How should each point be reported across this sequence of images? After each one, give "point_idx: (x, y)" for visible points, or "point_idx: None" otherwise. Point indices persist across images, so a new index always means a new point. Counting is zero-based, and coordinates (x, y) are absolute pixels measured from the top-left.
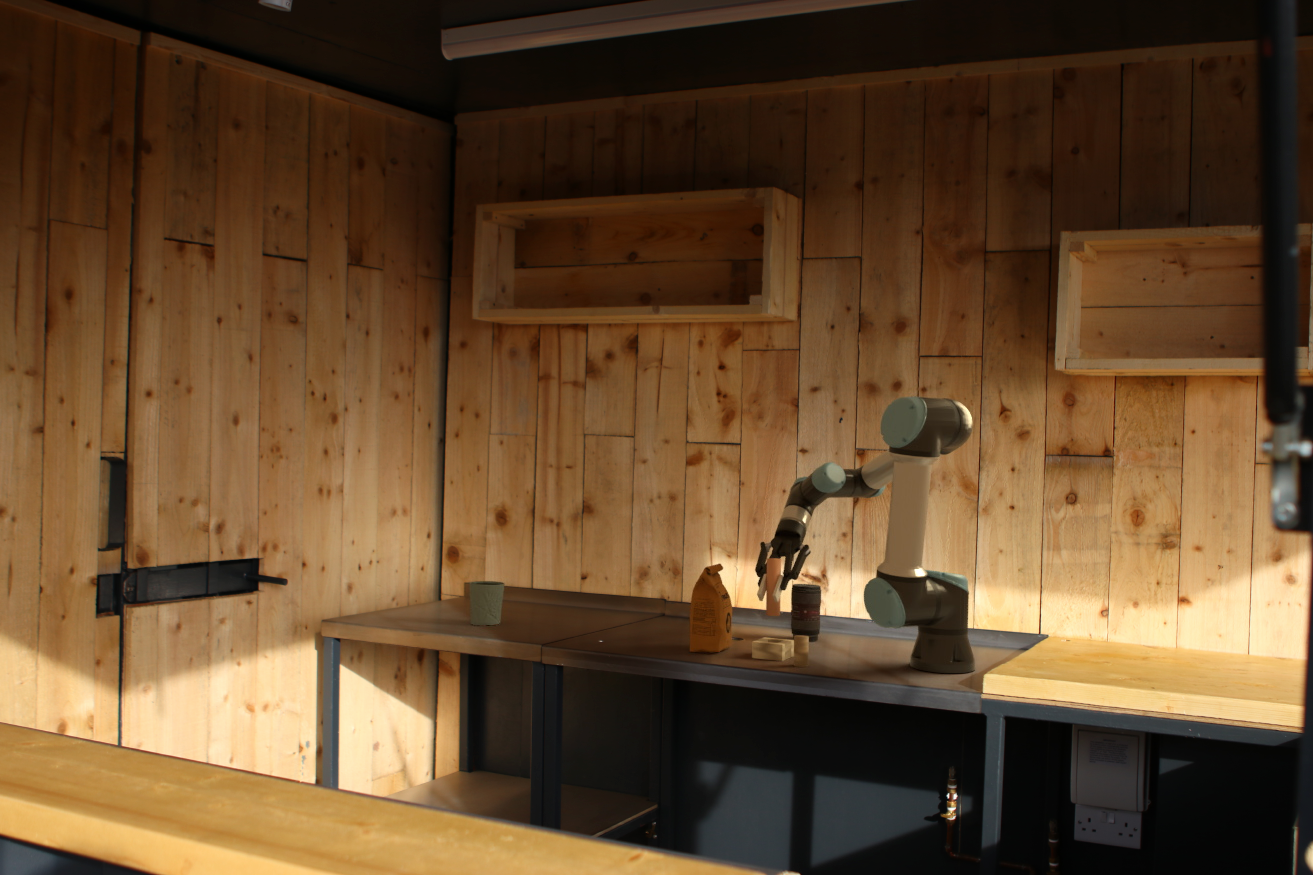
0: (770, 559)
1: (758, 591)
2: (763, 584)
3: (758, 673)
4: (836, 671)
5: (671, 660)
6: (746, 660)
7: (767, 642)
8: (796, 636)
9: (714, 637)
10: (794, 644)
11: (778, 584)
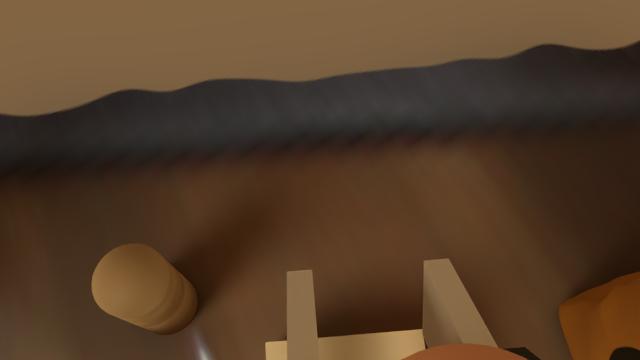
0: (473, 348)
1: (450, 275)
2: (455, 333)
3: (247, 93)
4: (8, 280)
5: (599, 112)
6: (396, 271)
7: (353, 357)
8: (152, 267)
9: (607, 291)
10: (168, 262)
11: (294, 348)
